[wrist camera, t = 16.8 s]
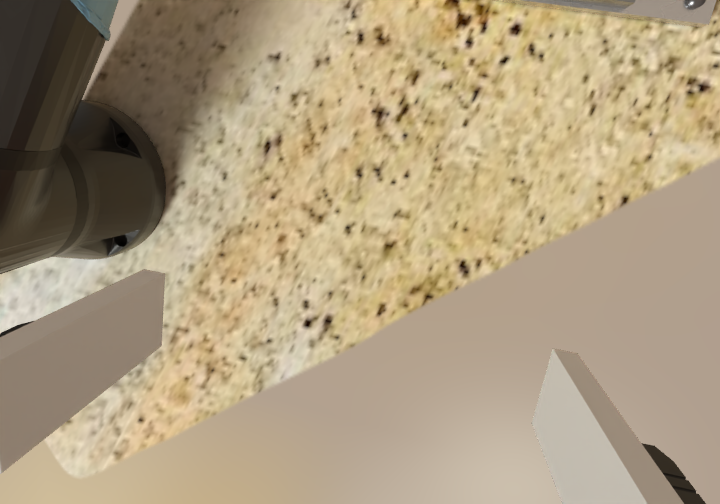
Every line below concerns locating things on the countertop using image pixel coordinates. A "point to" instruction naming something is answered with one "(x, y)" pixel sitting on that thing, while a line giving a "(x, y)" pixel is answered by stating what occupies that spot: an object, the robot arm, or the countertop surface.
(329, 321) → the countertop surface
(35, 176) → the robot arm
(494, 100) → the countertop surface
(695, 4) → the chassis
